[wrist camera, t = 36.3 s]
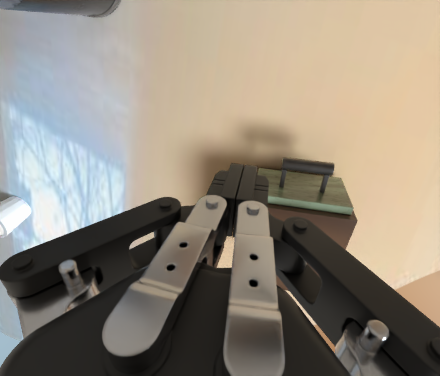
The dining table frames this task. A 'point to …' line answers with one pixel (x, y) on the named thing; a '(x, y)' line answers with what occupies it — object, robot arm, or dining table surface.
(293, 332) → the robot arm
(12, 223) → the white short cylinder
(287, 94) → the dining table surface
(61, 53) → the dining table surface
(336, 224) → the cabinet
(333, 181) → the drawer
